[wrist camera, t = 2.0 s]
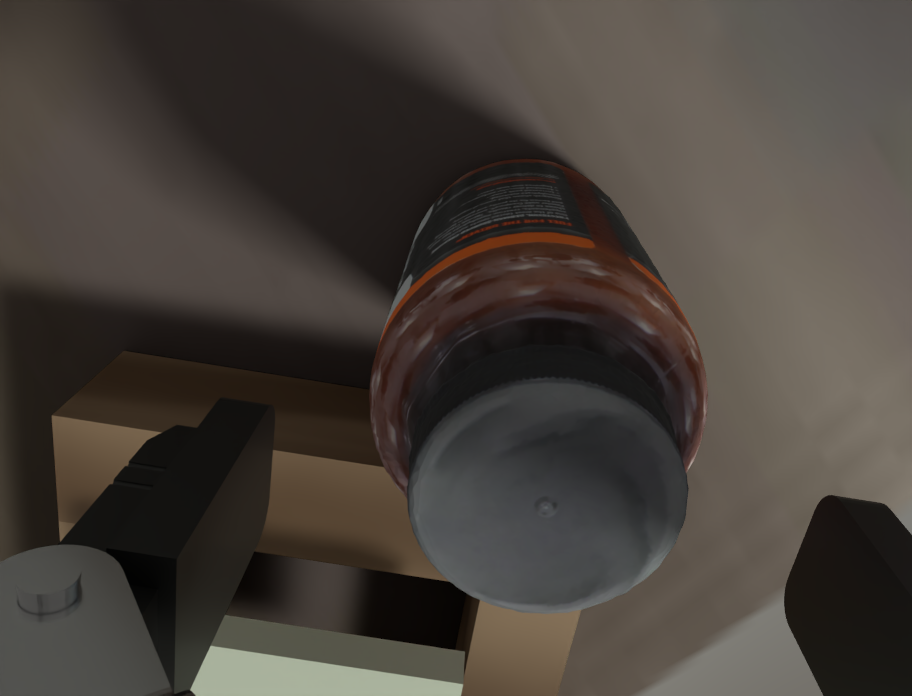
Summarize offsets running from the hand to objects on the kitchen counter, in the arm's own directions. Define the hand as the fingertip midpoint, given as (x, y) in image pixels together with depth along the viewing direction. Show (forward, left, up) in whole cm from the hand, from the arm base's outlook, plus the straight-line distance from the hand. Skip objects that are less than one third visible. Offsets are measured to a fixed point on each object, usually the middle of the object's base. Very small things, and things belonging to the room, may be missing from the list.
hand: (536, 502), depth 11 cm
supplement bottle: (0, 0, -11) cm, 11 cm away
